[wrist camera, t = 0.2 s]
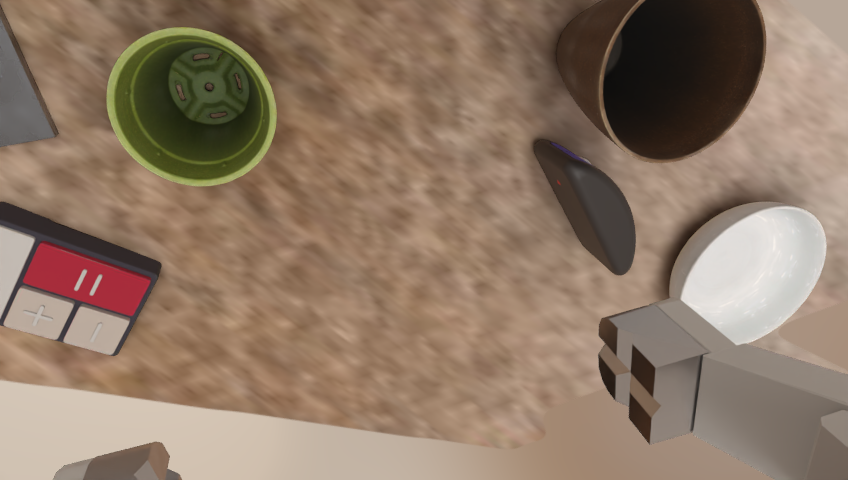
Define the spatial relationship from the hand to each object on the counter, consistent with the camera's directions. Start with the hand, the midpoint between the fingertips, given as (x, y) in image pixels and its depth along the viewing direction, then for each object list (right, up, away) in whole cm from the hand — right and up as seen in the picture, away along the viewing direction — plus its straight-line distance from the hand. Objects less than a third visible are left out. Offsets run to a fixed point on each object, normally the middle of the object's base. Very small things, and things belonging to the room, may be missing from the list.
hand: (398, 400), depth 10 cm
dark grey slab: (+17, +9, +55) cm, 58 cm away
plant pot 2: (+18, +23, +48) cm, 56 cm away
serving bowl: (+41, +1, +66) cm, 77 cm away
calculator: (-36, -1, +46) cm, 58 cm away
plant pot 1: (-19, +18, +41) cm, 49 cm away
